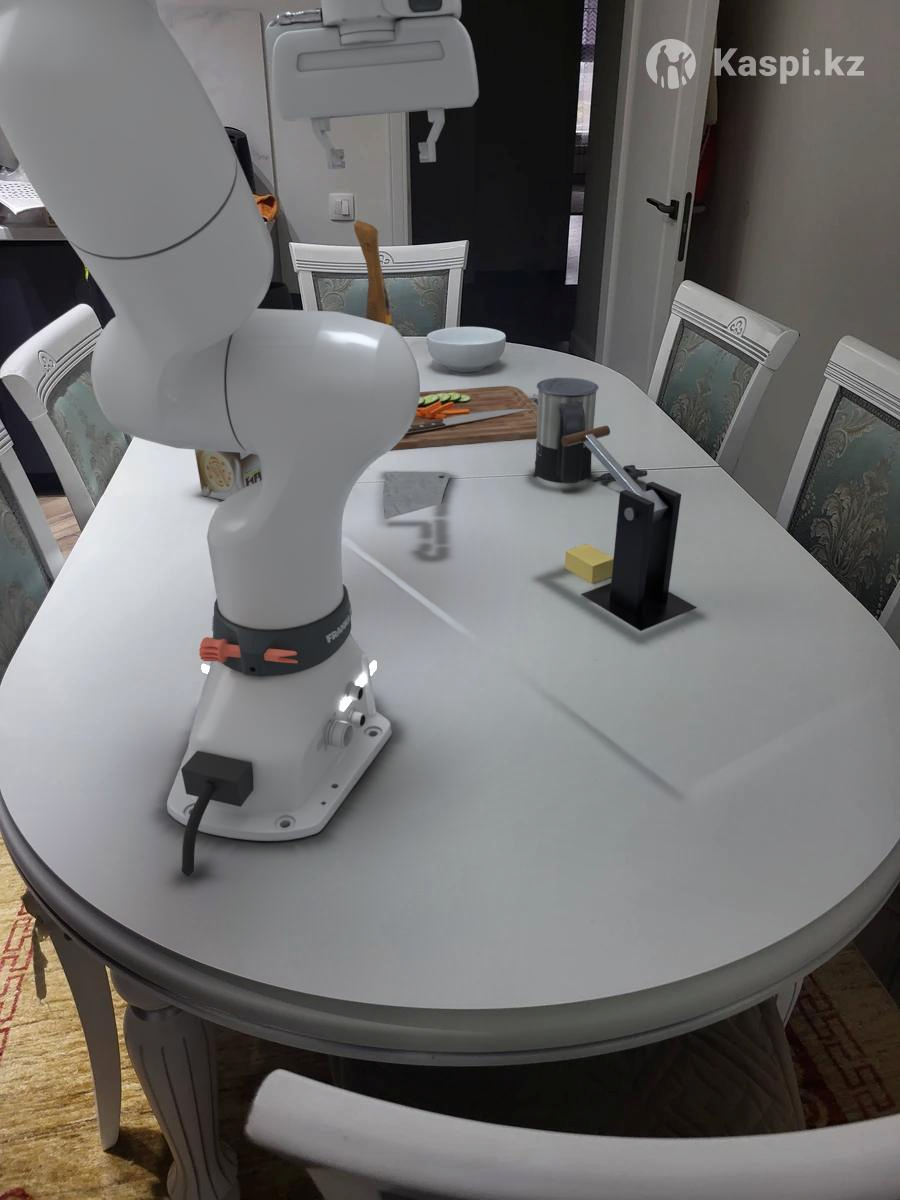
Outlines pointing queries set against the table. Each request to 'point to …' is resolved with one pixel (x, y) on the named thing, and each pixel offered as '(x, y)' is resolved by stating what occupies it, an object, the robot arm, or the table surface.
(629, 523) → the bracket
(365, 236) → the wooden handle
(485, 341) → the cereal bowl
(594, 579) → the butter
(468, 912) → the table surface
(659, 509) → the slicer arm
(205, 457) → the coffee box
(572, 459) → the milk frother
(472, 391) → the chopping board
